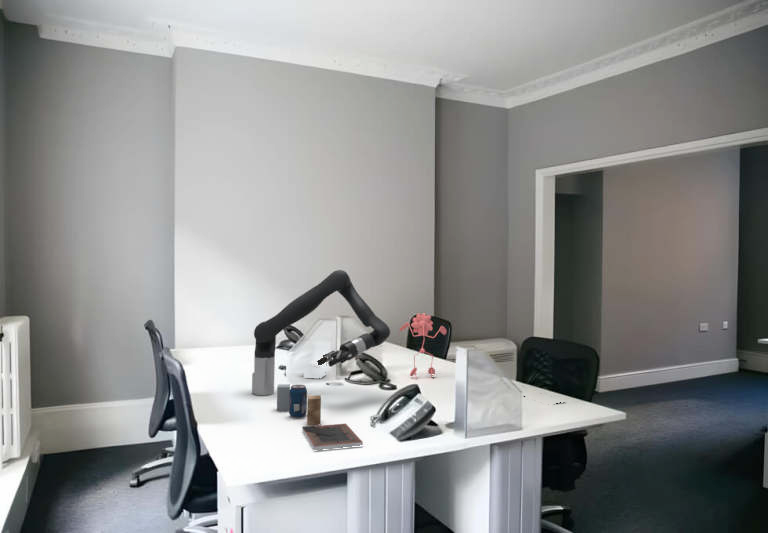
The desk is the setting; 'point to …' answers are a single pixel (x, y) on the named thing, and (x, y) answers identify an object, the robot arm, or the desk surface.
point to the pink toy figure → (422, 327)
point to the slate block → (283, 397)
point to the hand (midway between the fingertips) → (323, 363)
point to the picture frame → (331, 436)
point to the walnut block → (314, 410)
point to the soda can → (298, 401)
